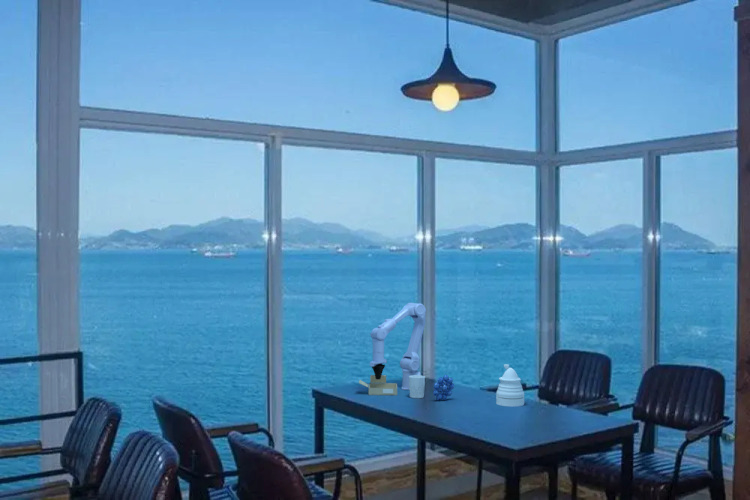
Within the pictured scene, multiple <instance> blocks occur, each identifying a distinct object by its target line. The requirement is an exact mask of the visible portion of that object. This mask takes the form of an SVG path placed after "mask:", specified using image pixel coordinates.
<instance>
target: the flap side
mask: <svg viewBox="0 0 750 500" xmlns="http://www.w3.org/2000/svg"><path fill="white" fill-rule="evenodd" d="M369 378H370V382H369V383H387V375H386V374H385V375H383V374H382V375H381V379H376V378H375V374H370V377H369Z"/></svg>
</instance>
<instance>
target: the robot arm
mask: <svg viewBox="0 0 750 500" xmlns="http://www.w3.org/2000/svg"><path fill="white" fill-rule="evenodd" d="M426 313H427V308H426V306H425V305H424V304H423V303H416V302H408V303H406V304H405V305H404V306H403V307H402V308H401V310H399V311H398V312H397V313H396V314H395V315H394V316H393V317H391V318H385V319H384V321H383V322H382V323H381V324H379V325H377V326H378V327H374V328H373V329H372V330H371V333H369V334H370V337H371V339H372V360H371V361H369V367H371V368H372V370H373V373H374V374H373V375H375V378H376V379H381V375H383V371H384V369H385V367H386V364H387V359H386V358H385V339H386V338H387V337H388V336H387V335H388V334H389V333H390V332H392V331H393V330H394V329H395V328H396V326H397V324H398V323H399V322H401V321H402V320H404V319H405V318H406V317H408V316H410V318H411V319H412V320H413V323H414V324H413V327H412V331H411V335H410V339H409V341H408V347H407V350H406V352H405V353H403V356H402V358H401V359H400V361H399V367H400V368H401V371H402V385H401V390H403V391H404V390H406V391H407V390H409V376H411V375H421V371H418V370H419V368H420V359H421V358H420V356H419V354H418V353H419V349H420V345H421V342H422V339H423V338H422V337H423V333H424V330H425V326H426V323H427V319H426Z"/></svg>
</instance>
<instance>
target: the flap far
mask: <svg viewBox="0 0 750 500" xmlns="http://www.w3.org/2000/svg"><path fill="white" fill-rule="evenodd" d="M358 384H360V385H362V386H363V387H365V388H369V383H367V382H365V381H363V380H362V379H359V381H358Z"/></svg>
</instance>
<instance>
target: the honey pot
mask: <svg viewBox="0 0 750 500" xmlns="http://www.w3.org/2000/svg"><path fill="white" fill-rule="evenodd" d="M503 368H504V369H505V371H504V372H503V374H502V376H500V377H498V380H499V384H498V387H497V390H496V392H495V393H496V395H495V396H496V397H495V402H496V403H495V405H498V406H502V407H513V408H514V407H522V406H524V405H525V391H524V389H523V385H522V384H521V381H522V379H521V378H520V377H519V375H518V374H517V372H516V370H515V369H514V368H512V367H510V364H509V363H506V364H503Z"/></svg>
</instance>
